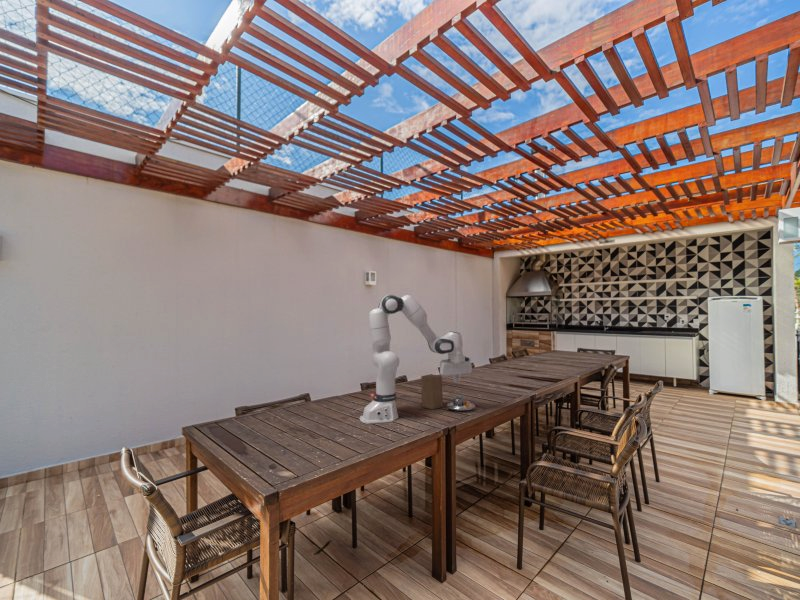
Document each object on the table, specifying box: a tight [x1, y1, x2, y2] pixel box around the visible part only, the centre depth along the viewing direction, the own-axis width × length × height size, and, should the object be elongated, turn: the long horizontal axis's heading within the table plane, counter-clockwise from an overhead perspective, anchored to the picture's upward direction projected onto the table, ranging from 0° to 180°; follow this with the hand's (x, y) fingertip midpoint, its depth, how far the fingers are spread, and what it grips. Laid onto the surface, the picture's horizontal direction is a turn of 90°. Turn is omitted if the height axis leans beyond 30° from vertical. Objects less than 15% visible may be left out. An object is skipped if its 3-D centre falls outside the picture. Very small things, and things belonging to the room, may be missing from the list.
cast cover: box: [452, 395, 467, 406], centre depth 223 cm, size 8×8×5 cm
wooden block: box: [420, 373, 444, 411], centre depth 230 cm, size 10×10×20 cm
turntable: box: [446, 400, 476, 411], centre depth 224 cm, size 17×17×6 cm
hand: (456, 382), depth 215 cm, fingers closed
